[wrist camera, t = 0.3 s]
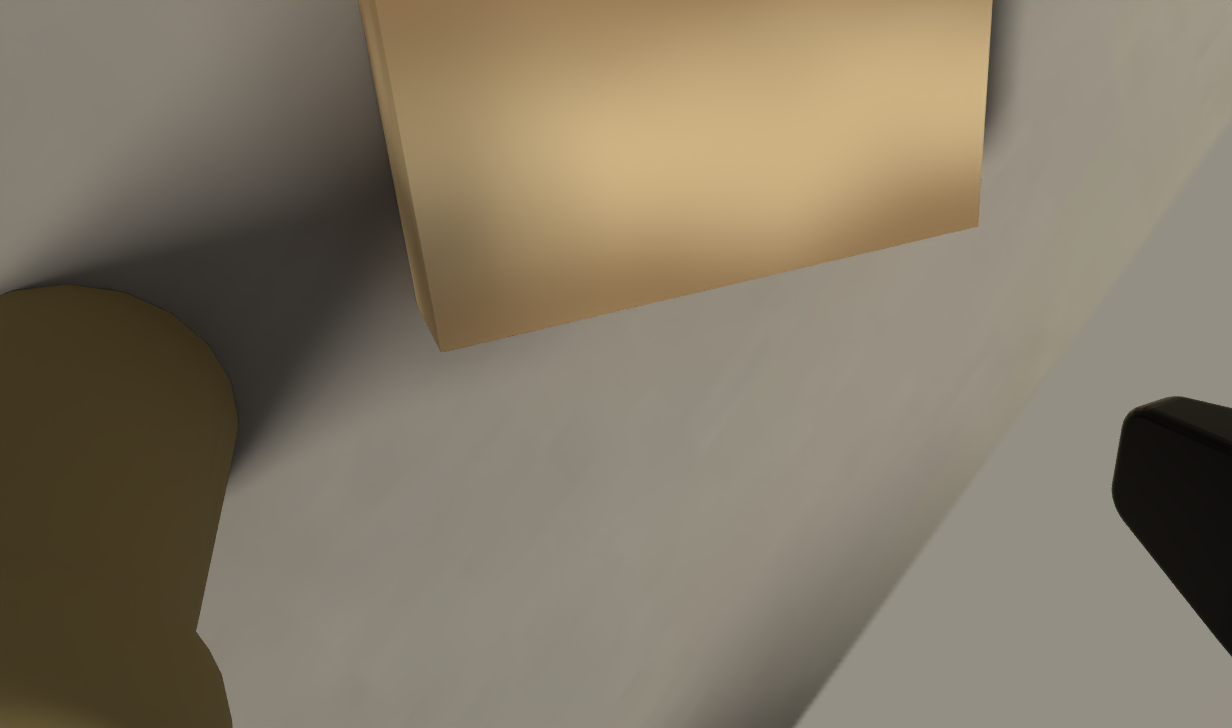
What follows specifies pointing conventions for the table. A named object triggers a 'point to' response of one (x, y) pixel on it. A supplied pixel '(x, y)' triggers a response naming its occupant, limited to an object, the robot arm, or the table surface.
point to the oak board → (665, 144)
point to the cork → (108, 512)
